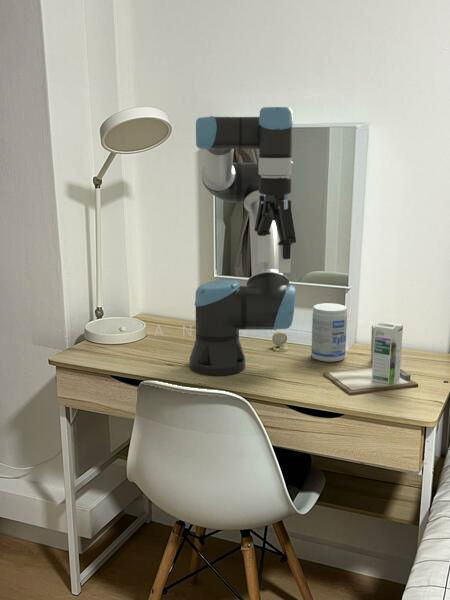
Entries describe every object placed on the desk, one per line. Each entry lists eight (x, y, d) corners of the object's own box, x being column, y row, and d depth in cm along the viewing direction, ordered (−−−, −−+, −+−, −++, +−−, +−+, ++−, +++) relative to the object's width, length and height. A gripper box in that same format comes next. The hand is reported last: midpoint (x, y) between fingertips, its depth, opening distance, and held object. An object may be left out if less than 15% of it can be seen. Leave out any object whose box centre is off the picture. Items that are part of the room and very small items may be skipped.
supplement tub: (338, 365, 191) (340, 313, 187) (305, 359, 196) (307, 308, 192) (350, 355, 199) (352, 305, 196) (319, 350, 204) (320, 301, 200)
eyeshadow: (274, 352, 202) (275, 335, 201) (271, 347, 207) (271, 331, 206) (289, 351, 202) (290, 335, 201) (286, 346, 207) (286, 330, 206)
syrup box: (370, 381, 176) (373, 325, 173) (378, 374, 181) (381, 320, 178) (392, 385, 174) (396, 329, 170) (400, 378, 178) (403, 323, 175)
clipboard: (323, 374, 184) (323, 368, 183) (387, 367, 189) (387, 360, 189) (349, 394, 170) (349, 387, 169) (418, 386, 175) (418, 379, 175)
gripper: (312, 179, 151) (309, 276, 156) (270, 172, 174) (269, 257, 179) (280, 180, 148) (278, 278, 154) (242, 173, 172) (241, 258, 177)
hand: (273, 267), depth 166 cm, fingers open, 13 cm apart
